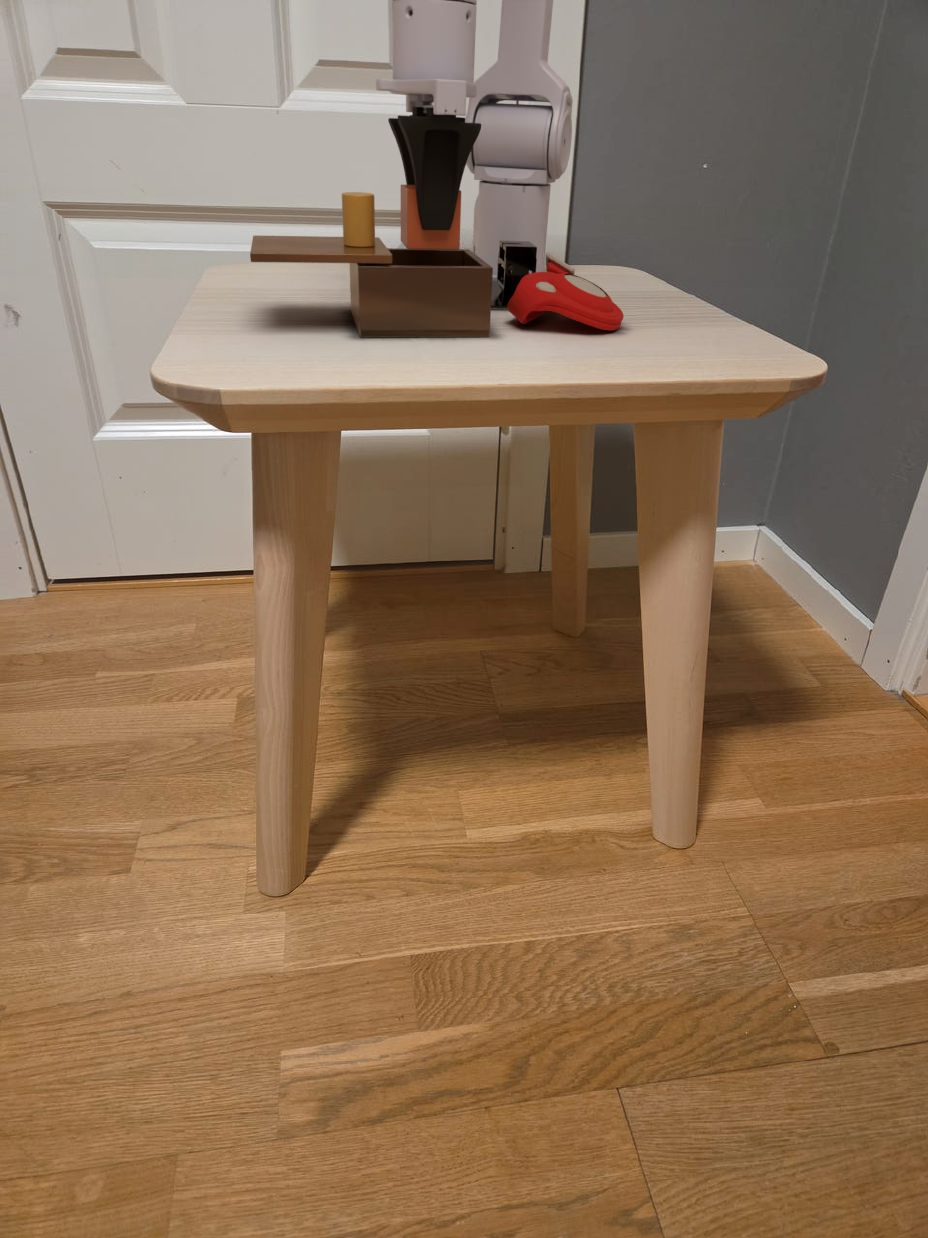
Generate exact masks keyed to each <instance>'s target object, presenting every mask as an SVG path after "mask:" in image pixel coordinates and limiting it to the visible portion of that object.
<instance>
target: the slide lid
mask: <svg viewBox="0 0 928 1238" xmlns="http://www.w3.org/2000/svg"><path fill="white" fill-rule="evenodd" d="M375 209H376V208H375V194H374V193H372V192H364V191H363V192H362V191H359V192H358V191H347V192H346V191H345V192H342V193H341V213H342V214H341V215H342V236H316V235H315V236H313V235H312V236H307V235H252V241H251V246H250V252H249V256H250V262H251V263H290V264H291V263H295V264H296V263H298V264H300V263H301V264H350V263H387V264H392V254H391V253H390V251H389V250H388V249H387V248H388V247H387V246H386V245H385V243H384V241H382V239H381V238H380V237H376V215H375V213H376V212H375Z"/></svg>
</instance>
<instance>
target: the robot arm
mask: <svg viewBox="0 0 928 1238" xmlns="http://www.w3.org/2000/svg"><path fill="white" fill-rule="evenodd" d="M477 1H478V0H392V2H391V3H392V4H391V6H392V7H391V9H392V10H391V11H392V16H391V17H392V18H391V19H392V78H390V79H387V78H377V79H375V90H376V91H377V92H389V93H390V94H392V95H401V96H405V112H406V113H412V114H410V115H397V117H395V118H394V117H388V119H387V121H388V124H389V126H390V130H391V132H392V134H393V137H394V138H395V141H396V144H397V148H398V151H399V154H400V157H401V161H402V166H403V172H404V178H405V185H415V189H416V198H417V206H418V213H419V218H420V223H421V227H422V229H423V230H450V228H451V225H452V221H453V218H454V213H455V209H456V204H457V199H458V194H459V190H460V188H461V183H462V180H463V177H464V176H463V175H464V172H465V168H466V166H467V168H468V170H469V172H470V173H471V174H472V175H473V180H474V181H478V194H477V196H476V199H475V201H474V206H473V207H474V208H473V231H472V252H473V253H474V254H476V255H477V256H478V257H479V258H481V259H482V260H483V261H485V262H486V263H487V264H488V265H490V266H491V267H492V268H493V277H492V280H497V266H498V251H499V241H529V242H531V243H532V244H533V245H535V246H536V247H537V255H536V259H537V264H536V272H547V271H546V270H545V269H544V267H545V259H546V245H547V234H548V222H549V211H550V207H549V206H550V200H551V199H550V198H551V195H550V194H551V187H552V186H551V185H552V183H555V182H556V180H559V179H560V178H561V177H562V175H563V174H564V173H566V170H567V167H568V164H569V160H570V155H571V149H572V148H571V147H572V139H573V138H572V137H573V124H572V123H573V120H572V113H573V101H574V99H573V96H572V92H571V90H570V87H569V86H568V84H567V83H566V82H565V80H563V79H562V77H561V76H560V75H558V73H557V72H556V71H555V70H554V69H553V68H552V67H551V66H550V65H549V63H548V61H549V60H548V59H549V51H550V39H551V29H552V28H551V27H552V19H553V7H554V0H501V9H500V10H501V12H500V25H499V37H498V38H499V39H498V49H497V51H498V52H497V60H496V62H494V63H493V64H492V66H490V67H489V68H487V70H486V71H484V72H483V74H481V75H480V76H479V77H478V78H477V79H476V80H475V60H476V59H475V57H476V30H477V9H478V8H477V5H478V3H477ZM474 80H475V81H474ZM467 98H468V105H467ZM505 101H510V102H511V101H513V102H535V103H548V105H546V104H545V105H544V104H523V103H522V104H521V103H499V102H505ZM549 104H550V105H549ZM501 266H503V265H501ZM531 273H532V271H530V270H529V274H531Z"/></svg>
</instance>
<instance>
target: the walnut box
mask: <svg viewBox="0 0 928 1238" xmlns="http://www.w3.org/2000/svg"><path fill="white" fill-rule="evenodd" d="M387 249H388V250H389V251H390V253H391V254H392V264H387V263H349V291H350V312H351V315H352V317H353V321H354V323H355V327H356V329H357V332H358V334H359V337H360V338H486V337H487V338H489V337H490V332H491V311H492V309H491V295H492V277H493V268H492V267H491V266H490V265H488V264H487V263H486V262H485V261H483V260H482V259H481V258H479V257H478V256H477V255H476V254H474V253H473V250H471V249H467V248H466V249H465V248H464V249H463V248H461V249H459V250H438V249H407V248H401V247H400V248H399V247H398V248H396V247H394V248H393V247H392V248H391V247H387Z"/></svg>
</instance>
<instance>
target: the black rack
mask: <svg viewBox="0 0 928 1238" xmlns="http://www.w3.org/2000/svg"><path fill="white" fill-rule="evenodd" d="M536 255H537V247H536V246H535V245H533V244H532V243H531V242H529V241H499V251H498V266H497V280H492V295H491V310H508V309H507V305H508V302H509V301H510V299H511V298H512V296H513V295H514V293H515V291H516V288H517V286H518V284H519V283H520V281H521V279H522V278H523V277H524V276H525V275H528V274H529V270H530V271H532V273H535V272H536V264H537V259H536ZM501 265H503V266H501Z"/></svg>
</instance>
